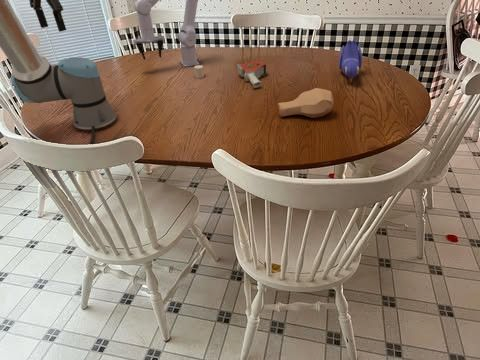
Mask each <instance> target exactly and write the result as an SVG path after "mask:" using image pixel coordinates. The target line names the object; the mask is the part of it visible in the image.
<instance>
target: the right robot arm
mask: <svg viewBox="0 0 480 360" xmlns="http://www.w3.org/2000/svg"><path fill="white" fill-rule="evenodd" d="M158 2H160V0H135V2H134V6H133V8H134V10H135V12H136V13H137V18H138V25H139V30H140V35H141V37H140V38H137V39H132V43H133V46H136V48H137V50H138V51H139V52H140V54H141V56H142V58H143V60H144V61H145V60H146V56H145V52H144V48H143V44H150V43H156V46H157V51H158V57H159V58H162V50H163V46H164V42H165V41H166V38H165V36H164V35H155V32H154V31H155V30H154V27H153V21H152V16H151V11H152V8H153V7H154V6H155V5H157V4H158ZM198 3H199V0H185V7H184V15H183V21H182V22H183V23H182V25H181V26H180V30H179V32H178V33H177V40H178V42H179V43H180V53H181V60H180V63H181V64H182V66H183V67H184V68H187V67H192V66H198V65H200V62H199V61H198V57H197V50H196V44H197V37H196V29H195V22H196V16H197V8H198Z"/></svg>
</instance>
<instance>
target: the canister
mask: <svg viewBox="0 0 480 360" xmlns="http://www.w3.org/2000/svg"><path fill="white" fill-rule="evenodd" d="M193 68H194V69H193V70H194V77H195V78H196V79H201V78H205V72H204V66H203V65H200V64H199V65H194V67H193Z"/></svg>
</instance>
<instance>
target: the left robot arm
mask: <svg viewBox="0 0 480 360" xmlns="http://www.w3.org/2000/svg"><path fill="white" fill-rule="evenodd" d="M45 1H46V3H47V5H48V6H49V8H50V9H51V10H52V15H53V17H54V21H55V24H56V27H57V30H58V32H61V33H62V32H64V31H67V27H66V24H65V21H64V17H63V15H62V11H64V6H63V5H62V3H61V2H60V0H45ZM29 7H30V8H31V9H33V10H34V12H35V15H36V17H37V19H38V23H39V27H40V28H41V29H44V28H48V27H49V24H48V21H47V18H46V15H45V13H44V9H43V7H42V0H29ZM0 50H1V51H2V52H3V54H4V56H5V57H6V59H7V60H8V61H9V63H10V65H12V68H11V74H10V81H11V85H12V87H13V90H14V92H15V94H16V95H17V96H18V97H19V99H21V100H22V101H23V102H25V103H28V104H43V103H49V102H57V101H64V100H65V101H67V100H70V101H71V104H72V108H73V114H72V117H73V118H72V119H73V125H74V128H75V129H76V131H78V132H84V133H91V136H90V142H89V144H90V145H91V144H92V145H94V142H95V133H96V132H99V131H102V130H105V129H107V128H110V127H111V126H113V125H115V124H116V122H117V121H118V116H117V113H116V111H115V110H114V108H113V107H112V105H111V103H110V102H109V101H108V99H107V96H106V92H105V89H104V87H103V86H104V85H103V83H102V79H101V73H100V71H99V70H98V66H97V64H96V63H95V61H94V60H92V59H89V58H87V57H78V56H77V57H75V56H73V57H67V58H62V59H60V60H59V61H58V63H57V64H53V65H52V64H51V63H50V61H49V60H48V59H47V58H46V57H45V56H42V55H40V54H39V52H38V50H37V48H36V47H35V45H34V43H33V42H32V40H31V38H30V36H29V35H28V32H27V31H26V30H25V28H24V26H23V24H22V22H21V21H20V19H19V17H18V16H17V14H16V12H15V10H14V8H13V7H12V5H11V3H10V2H9V0H0Z"/></svg>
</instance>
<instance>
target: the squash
mask: <svg viewBox="0 0 480 360" xmlns="http://www.w3.org/2000/svg"><path fill="white" fill-rule="evenodd" d="M334 102H335V100H334V96H333V93H332V91H330V90H329V89H325V88H319V87H315V88H312V89H310V90H307V91H303V92H301V93H300V94H299V95H298V96H297V97H296V98H295V99H293V100H290V101H287V102H286V101H284V102H279V103H277V109H278V113H279V116H280V117H281V118H283V117H288V116H293V115H294V116H295V115H300V116H305V117H308V118H311V119H315V118H322V117H324V116H326V115H328V114H330V113H331V112H332V110H333V107H334Z"/></svg>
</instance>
